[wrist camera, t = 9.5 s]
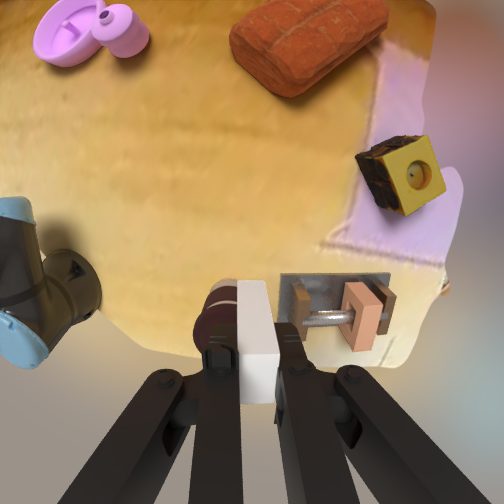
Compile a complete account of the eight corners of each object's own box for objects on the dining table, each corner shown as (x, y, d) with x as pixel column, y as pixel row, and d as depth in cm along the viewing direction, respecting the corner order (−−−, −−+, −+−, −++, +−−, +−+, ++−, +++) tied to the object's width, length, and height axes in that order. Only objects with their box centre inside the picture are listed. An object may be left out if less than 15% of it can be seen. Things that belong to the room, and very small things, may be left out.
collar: (337, 324, 53) (353, 352, 44) (345, 282, 50) (364, 305, 41) (354, 323, 53) (371, 350, 44) (362, 282, 50) (383, 304, 42)
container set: (38, 62, 35) (0, 49, 22) (74, 2, 31) (44, -22, 18) (129, 84, 39) (96, 64, 27) (171, 14, 35) (152, -22, 23)
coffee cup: (224, 327, 54) (221, 380, 40) (191, 290, 51) (176, 337, 37) (267, 301, 52) (277, 350, 38) (235, 260, 50) (235, 300, 35)
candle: (353, 155, 45) (379, 155, 35) (396, 134, 44) (427, 131, 34) (375, 207, 48) (404, 218, 38) (416, 183, 47) (448, 190, 37)
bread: (382, 33, 37) (409, 13, 27) (286, 108, 42) (300, 95, 32) (324, -20, 33) (340, -47, 23) (220, 48, 38) (216, 22, 28)
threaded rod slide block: (276, 325, 54) (282, 350, 47) (280, 273, 51) (287, 292, 43) (378, 320, 55) (394, 340, 48) (389, 272, 52) (408, 289, 45)
